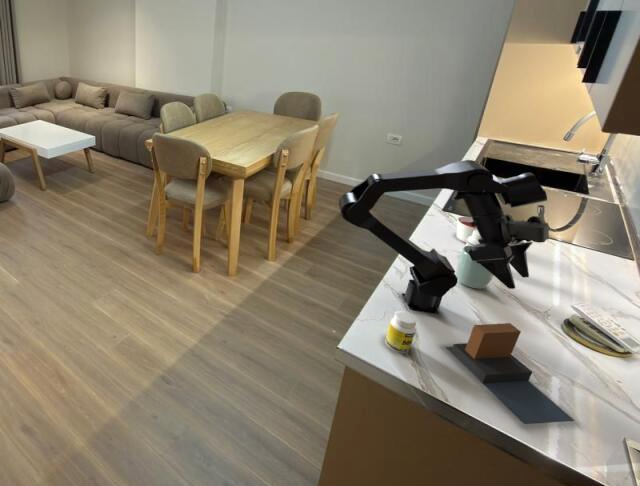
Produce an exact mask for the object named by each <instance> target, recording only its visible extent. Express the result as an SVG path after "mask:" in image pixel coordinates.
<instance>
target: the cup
mask: <svg viewBox="0 0 640 486" xmlns="http://www.w3.org/2000/svg"><path fill="white" fill-rule="evenodd" d="M472 247H474V246H466V245H465V246H463V247H462V249H461V252H460V254H459V259H458V261H457V264H456V265H457V266H456V270H455V275H456V277H457V278H458V281H459V282H460V283H461V284H463V285H464V286H467V287H469V288H473V289H484V288H486V287H487V286H488V285H490V284H491V281H492V280H493V278H494V277H495V276H494V275H493V274H492V273H490V272H489V271H488V270H487V269H486V268H484V267H483V266H482V265H481V264H479V263H477V262H476V261H472V259H471V257H470V255H469V251H470V249H471V248H472Z"/></svg>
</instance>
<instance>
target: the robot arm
mask: <svg viewBox="0 0 640 486" xmlns="http://www.w3.org/2000/svg"><path fill="white" fill-rule="evenodd" d="M439 189H441V190H442V189H443V190H450V191H454V194H453V195H452V196H451V197H450V198H451V200H453V201H460V200H462V201H463V202H464V204H465V206H466V209H467V210H468V213H469V216H470V217H472V219H473V221H472V222H470V224H471V226H472V227H474V226H476V228H477V230H478V232H479V235H480V237H481V239H479V240H478V241H479V243H480V244H477V245H475V246H474V247H472V248H471V249H470V251H469V255H470V257H471V259H472V261H476V262H477V263H479V264H481V265H482V266H483V267H484V268H486V269H487V270H488V271H489V272H490V273H492V274H493V275H494V276H493V277H495V278H496V279H497V280H498V281H499V282H500V283H501V284H503V285H504V286H505V287H506V288H507V289H509V290H515V289H516V284H515V280H514V275H513V273H512V270H511V269H512V268H513V270H515V271H516V272H517V273H518V274H519V275H520V277H522V278H529V277H530V273H529V266H528V265H529V264H528V257H527V251H528V250H529V249H530V247H531V245H533V243H545V242H546V241H548V240H549V238H550V230H551V227H550V225H549V223H548V222H545V220H544V219H543V218H542V216H538V215H530V217H528V219H527V220H525V219H522V220H515V219H513V216H512V215H511V214H509V213H505V212H504V209H503V207H502V205H503V206H507V205H508V206H509V208H512V209H516V208H521V207H525V206H529V205H534V204H539V203H543V202H547V201H548V196H547V195H548V194H547V192H546V190H545V189H543V186H542V185H541V183H540V182H539V181H538V180H537V177H536V175H535V174H533V173H532V172H531V171H528V172H523V173H521V174H519V175H515V176H512V177H507V178H503V179H500V178H499V177H498V176H496V175H495V174H492V172H491V171H490V170H488V169H487V168H486V167H485V166H483V165H482V164H481V163H479V162H478V161H475V160H473V159H465V160H460V161H456V162H452V163H448V164H446V165H444V166H441V167H438V168H433V169H432V168H431V169H421V170H411V171H400V172H399V171H398V172H389V173H387V172H386V173H372V174H370V175H369V176H368V177H366V178H365V180H363V181H361V182H360V183H358V184H356V185H355V186H354V187H352V189H351V190H349V192H346V193H343V194H342V195H341V196H340V197H339V199H338V207H339V211H340V215H341V217H342V218H343V220H345V221H346V222H347V223H349V224H351V225H353V226H355V227H357V228H360V229H364V230H367V231H369V233H371V234H372V235H374V236H375V237H376V238H378V239H379V240H380V241H381V242H383V243H384V244H386V245H387V246H388V247H390V248H391V249H392V250H393V251H395V252H396V253H397V254H399V256H401V257H403V258H404V259H405V260H406V261H408V262H409V263H411V264H412V266H410V267H409V273H410V275H411V277H412V279H409V280H408V283H407V286H406V290H405V292H404V293H401V297H402V299H403V300H404V303H406V305H407V307H408V309H409V310H411V311H416V312H420V313H421V312H422V313H427V314H432V315H433V314H434V315H439V314H440V312H439V311H438V309H439V308H440V306H441V303H442V299H443V297H444V296H445V295H446V294H447V293H448V292H449V291H450V290H451V289H453V288H454V287H456V286H457V284H458V281H459V279H458V278H457V274H456V270H455V269H454V267H453V266H452V264H451V262H450V260H449V259H448V258H447V256H445V255H442V254H440V253H439V252H438V251H437V250H436V249H435V248H432V249H431V250H430V251H428V250H425V249H423V248H421V247H419V245H417V244H415V243H414V242H413V241H412V240H411V239H409V238H408V237H407V236H405V235H404V234H402V233H401V232H400V231H398V229H396V228H394V227H393V226H392V225H391V224H390V223H388V222H387V221H385V219H383V218H381V217H380V216H378V214H377V213H376V212H375V211H374V210H373V208H374V207H375V205H376V204H377V202H378V201H379V200H380V198H381V197H382V196H383V195H384V194H385V193H397V192H410V191H411V192H412V191H425V190H426V191H427V190H439ZM500 202H501V203H500ZM511 266H512V268H511Z"/></svg>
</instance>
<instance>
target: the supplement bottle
mask: <svg viewBox="0 0 640 486" xmlns="http://www.w3.org/2000/svg"><path fill="white" fill-rule="evenodd" d="M416 324H417V318H416V317H415V316H414V315H412V314H411V313H409V312H407V311H404V310H398V311H395V312H394V316H393V318H391V320H390V322H389V326H388V330H387V333H386V336H385V340H384V342H385V344H386V345H387V347H388V348H390V349H391V350H393V351H395V352H397V353H403V354H405V353H408V352H409V351H410V349H411V346H412V343H413V340H414V338H415V334H416V331H417V328H416Z"/></svg>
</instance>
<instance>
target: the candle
mask: <svg viewBox="0 0 640 486" xmlns="http://www.w3.org/2000/svg"><path fill="white" fill-rule="evenodd" d="M472 221H473V219H472V217H471V216H459V217H457V224H456V225H457V226H456V237H457V238H458V240H460V241H462V242H464V243H465V244H466V243H467V240H468V238H469V237H470V236H472V234H473V232H474V231H475V230H477V228H476V226H474V227H472V226H471V224H470V222H472Z"/></svg>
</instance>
